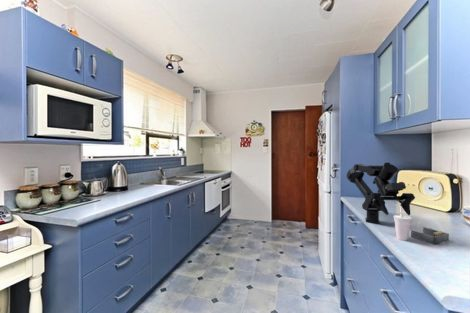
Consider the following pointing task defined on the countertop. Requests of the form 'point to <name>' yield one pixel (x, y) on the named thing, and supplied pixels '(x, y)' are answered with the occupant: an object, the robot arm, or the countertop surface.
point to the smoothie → (402, 225)
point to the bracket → (430, 236)
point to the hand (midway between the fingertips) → (398, 214)
